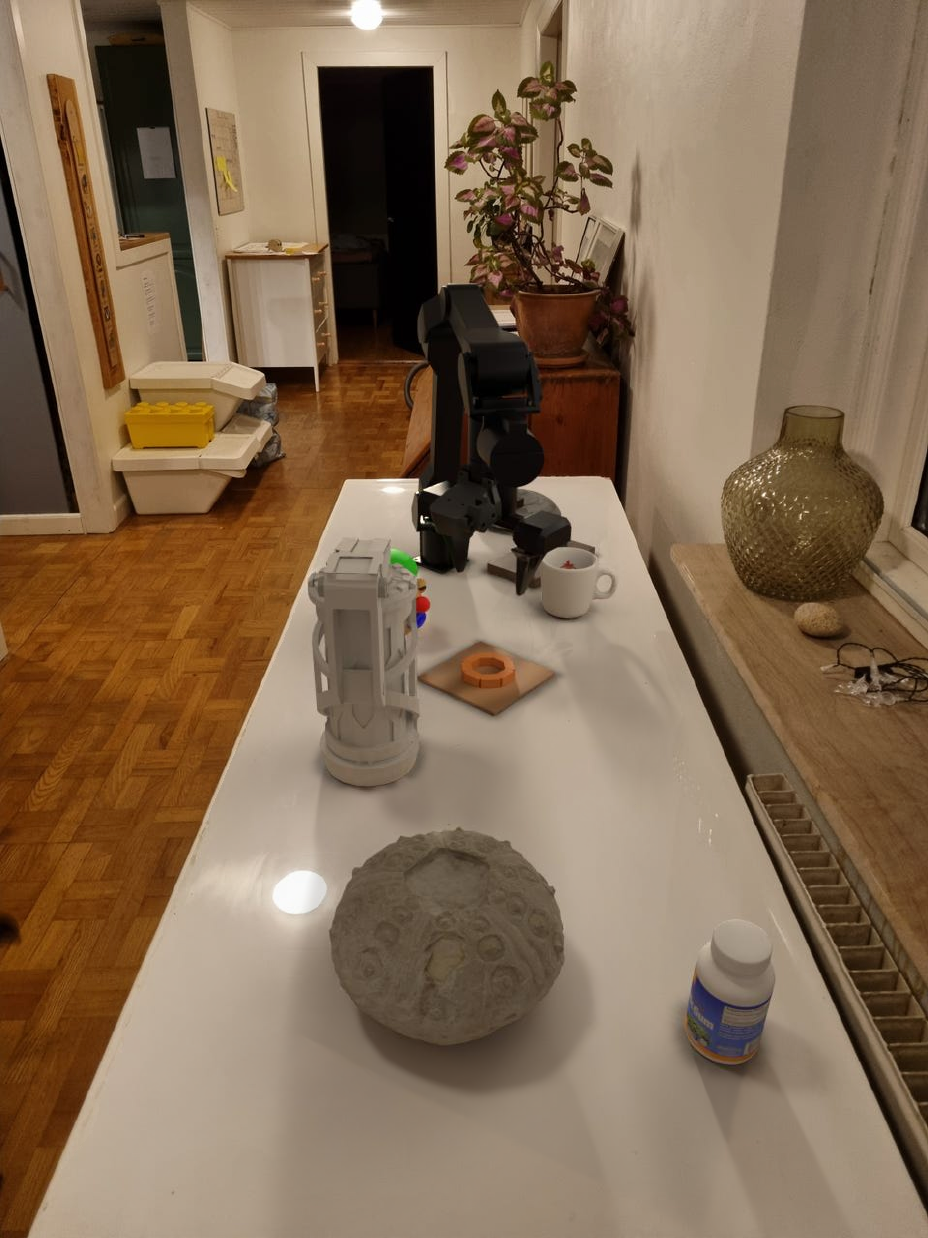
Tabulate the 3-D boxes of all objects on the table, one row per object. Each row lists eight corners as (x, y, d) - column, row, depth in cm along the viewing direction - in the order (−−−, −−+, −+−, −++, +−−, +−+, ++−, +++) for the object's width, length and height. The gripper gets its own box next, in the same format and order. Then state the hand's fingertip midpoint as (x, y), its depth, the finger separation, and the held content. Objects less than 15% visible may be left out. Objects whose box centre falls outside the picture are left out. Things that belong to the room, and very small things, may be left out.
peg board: (486, 571, 140) (487, 541, 137) (548, 541, 151) (550, 512, 148) (534, 588, 135) (536, 557, 132) (594, 555, 145) (597, 526, 143)
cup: (613, 600, 131) (618, 549, 128) (615, 626, 124) (621, 572, 121) (537, 596, 132) (540, 545, 129) (536, 622, 125) (539, 568, 122)
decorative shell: (597, 1041, 67) (608, 941, 62) (356, 1104, 63) (349, 1002, 58) (516, 874, 82) (520, 784, 78) (317, 915, 78) (309, 822, 73)
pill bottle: (675, 1006, 70) (691, 912, 65) (744, 1002, 70) (764, 908, 66) (697, 1070, 65) (716, 973, 61) (771, 1065, 66) (795, 968, 61)
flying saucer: (546, 542, 150) (548, 510, 148) (461, 529, 155) (461, 498, 152) (570, 511, 163) (572, 482, 160) (490, 500, 167) (491, 471, 165)
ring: (450, 675, 112) (450, 666, 111) (483, 655, 116) (484, 647, 116) (491, 693, 108) (491, 685, 108) (524, 672, 113) (524, 664, 112)
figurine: (335, 642, 120) (330, 558, 114) (374, 613, 127) (371, 532, 122) (410, 663, 115) (409, 576, 109) (447, 631, 123) (447, 548, 117)
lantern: (329, 729, 102) (315, 518, 91) (423, 731, 102) (420, 520, 90) (308, 803, 91) (289, 573, 79) (414, 806, 90) (409, 576, 79)
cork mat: (417, 679, 112) (417, 676, 112) (480, 643, 120) (480, 640, 120) (494, 715, 105) (494, 712, 105) (555, 675, 113) (555, 672, 113)
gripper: (382, 455, 102) (386, 581, 109) (515, 495, 91) (509, 632, 99) (448, 433, 109) (448, 553, 117) (578, 468, 99) (569, 597, 106)
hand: (489, 582), depth 110 cm, fingers open, 9 cm apart
